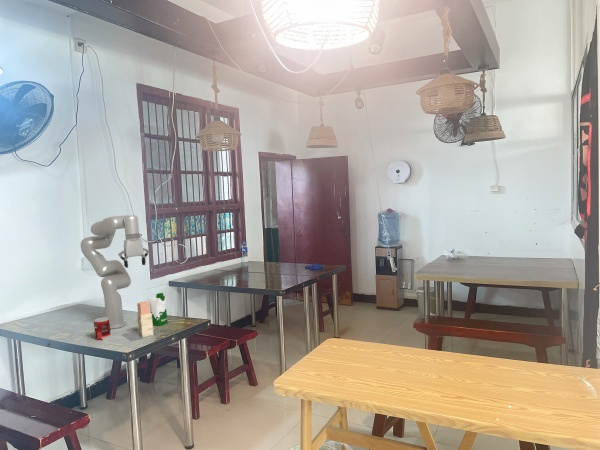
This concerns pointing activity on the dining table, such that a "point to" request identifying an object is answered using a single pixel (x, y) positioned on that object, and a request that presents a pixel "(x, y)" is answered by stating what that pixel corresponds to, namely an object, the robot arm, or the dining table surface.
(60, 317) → the dining table surface
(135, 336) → the slate board
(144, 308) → the terracotta block
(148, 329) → the beech block base
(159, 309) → the milk carton
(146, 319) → the beech block mid
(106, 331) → the canned food
